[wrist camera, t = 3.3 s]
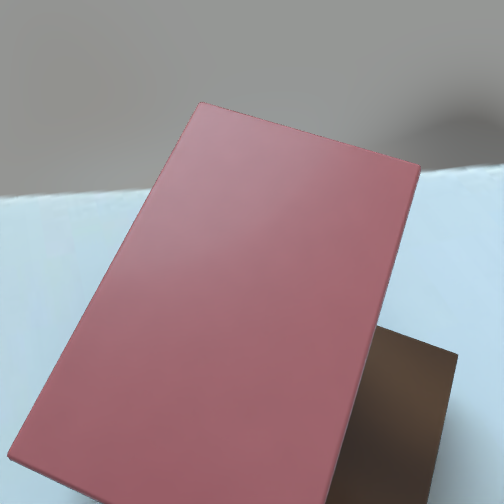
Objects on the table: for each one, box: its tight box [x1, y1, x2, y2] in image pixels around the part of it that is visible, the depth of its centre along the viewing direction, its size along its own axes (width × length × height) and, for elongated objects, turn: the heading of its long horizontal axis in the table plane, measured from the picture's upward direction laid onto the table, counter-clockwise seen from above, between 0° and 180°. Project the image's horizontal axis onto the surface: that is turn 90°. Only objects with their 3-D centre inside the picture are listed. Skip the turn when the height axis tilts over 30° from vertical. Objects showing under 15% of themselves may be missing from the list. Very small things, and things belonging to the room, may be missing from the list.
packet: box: [7, 102, 421, 504], centre depth 11 cm, size 6×4×10 cm, turn 159°
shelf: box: [325, 325, 458, 504], centre depth 17 cm, size 8×12×4 cm, turn 69°
